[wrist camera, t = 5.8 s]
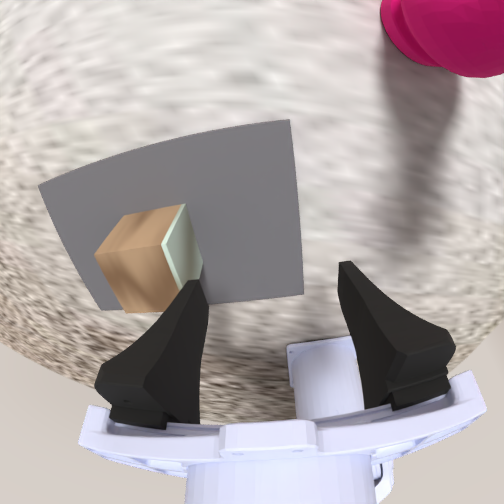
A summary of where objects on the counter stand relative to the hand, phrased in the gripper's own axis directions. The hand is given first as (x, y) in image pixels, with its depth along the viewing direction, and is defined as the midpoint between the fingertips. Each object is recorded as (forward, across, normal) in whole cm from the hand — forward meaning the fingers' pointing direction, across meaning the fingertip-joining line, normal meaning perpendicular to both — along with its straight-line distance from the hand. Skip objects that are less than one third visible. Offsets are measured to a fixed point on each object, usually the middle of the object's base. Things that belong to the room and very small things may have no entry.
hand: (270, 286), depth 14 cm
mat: (+7, +8, 0) cm, 10 cm away
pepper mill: (+7, -12, -14) cm, 20 cm away
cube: (+4, +5, 0) cm, 6 cm away
